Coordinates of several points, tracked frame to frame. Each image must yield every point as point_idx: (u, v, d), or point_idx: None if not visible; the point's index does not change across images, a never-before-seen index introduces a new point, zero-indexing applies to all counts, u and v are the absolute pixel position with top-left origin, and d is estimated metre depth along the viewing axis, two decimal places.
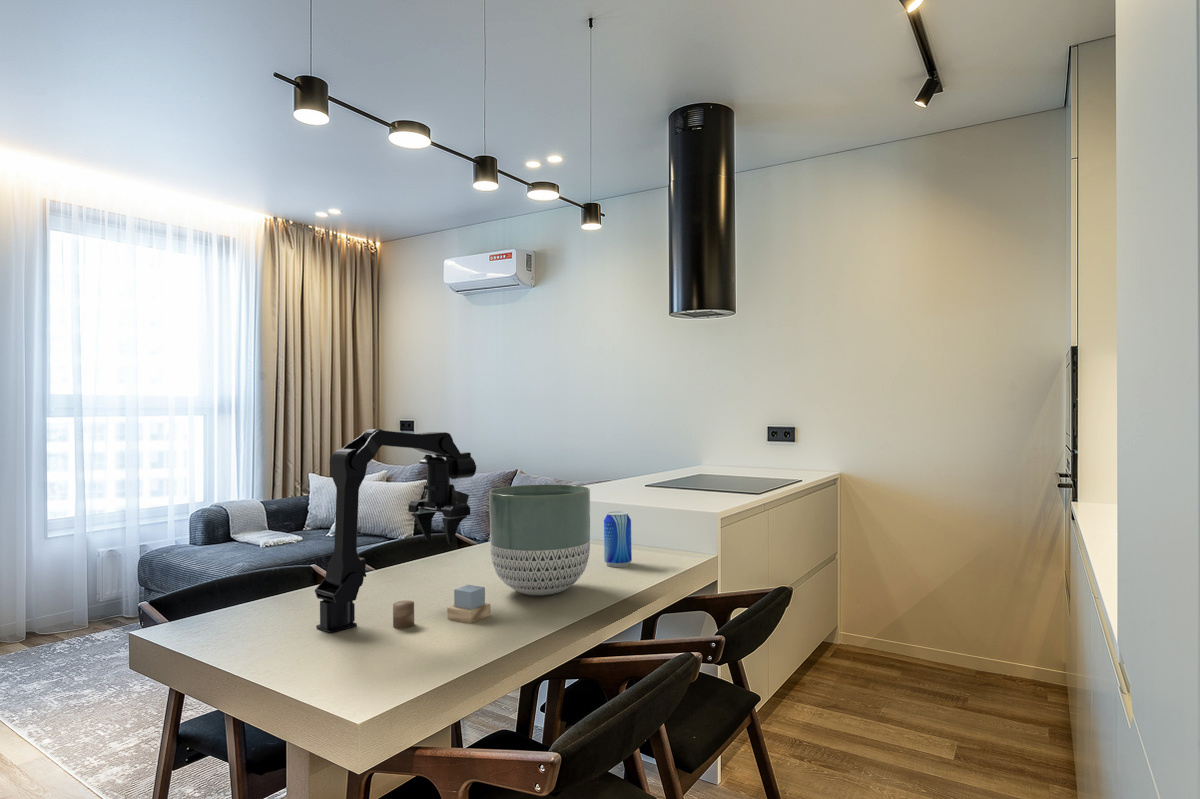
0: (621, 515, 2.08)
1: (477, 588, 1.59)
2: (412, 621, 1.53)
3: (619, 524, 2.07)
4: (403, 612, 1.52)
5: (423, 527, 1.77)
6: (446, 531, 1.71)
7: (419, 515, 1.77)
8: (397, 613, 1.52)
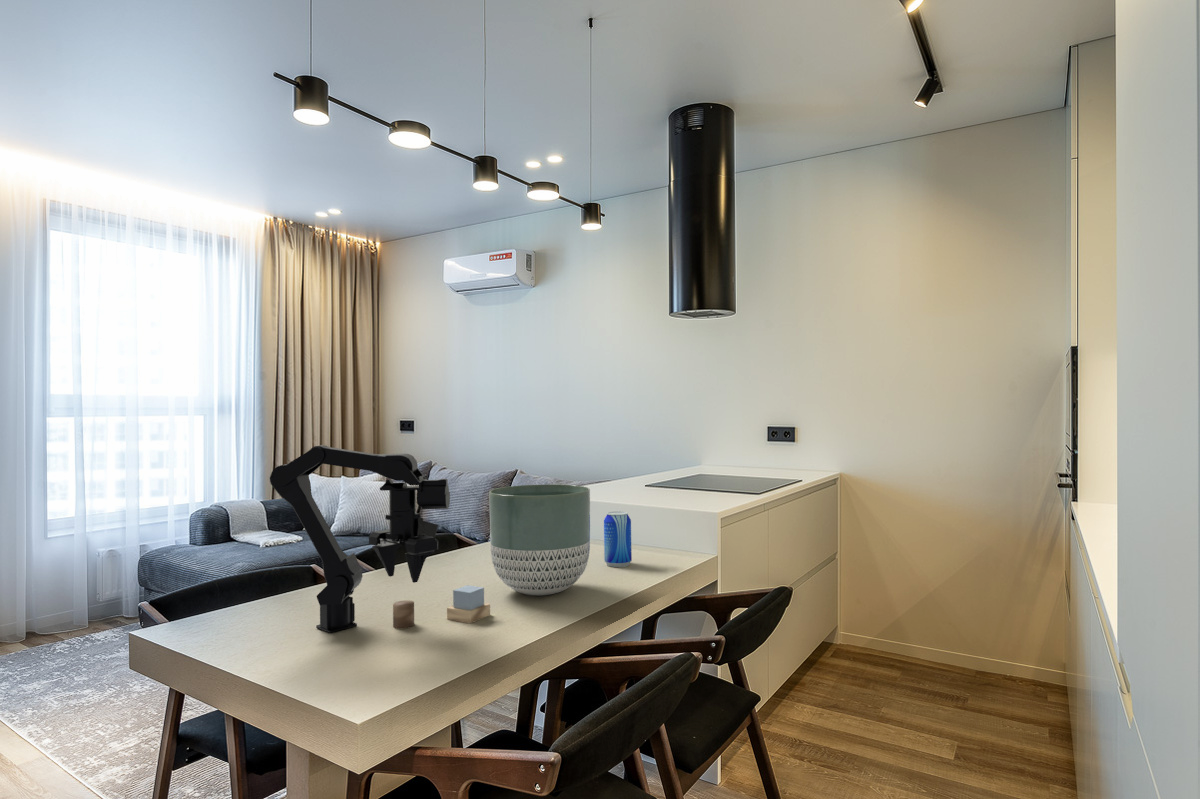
0: (621, 515, 2.08)
1: (476, 588, 1.59)
2: (412, 621, 1.53)
3: (619, 524, 2.07)
4: (403, 612, 1.52)
5: (385, 562, 1.56)
6: (410, 568, 1.49)
7: (381, 548, 1.56)
8: (397, 613, 1.52)
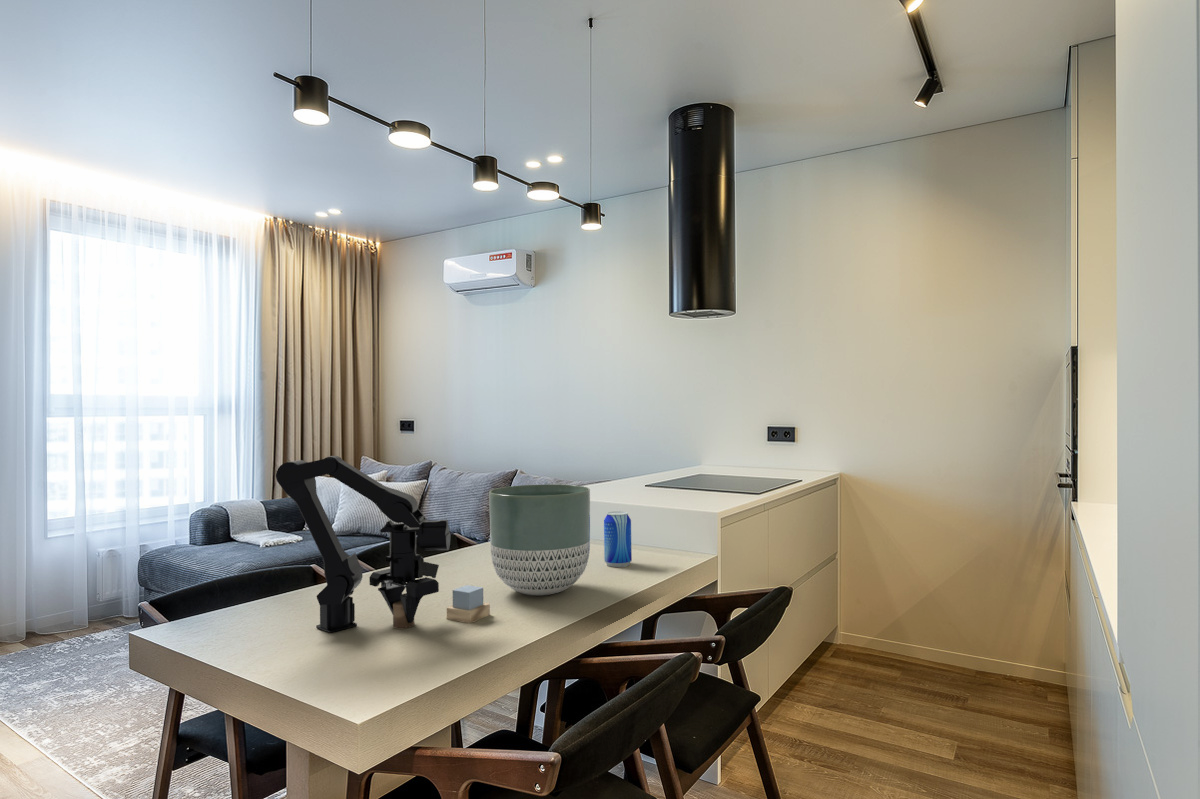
0: (621, 515, 2.08)
1: (475, 588, 1.59)
2: None
3: (619, 524, 2.07)
4: (403, 612, 1.52)
5: (391, 604, 1.54)
6: (405, 609, 1.50)
7: (387, 591, 1.54)
8: (397, 613, 1.52)
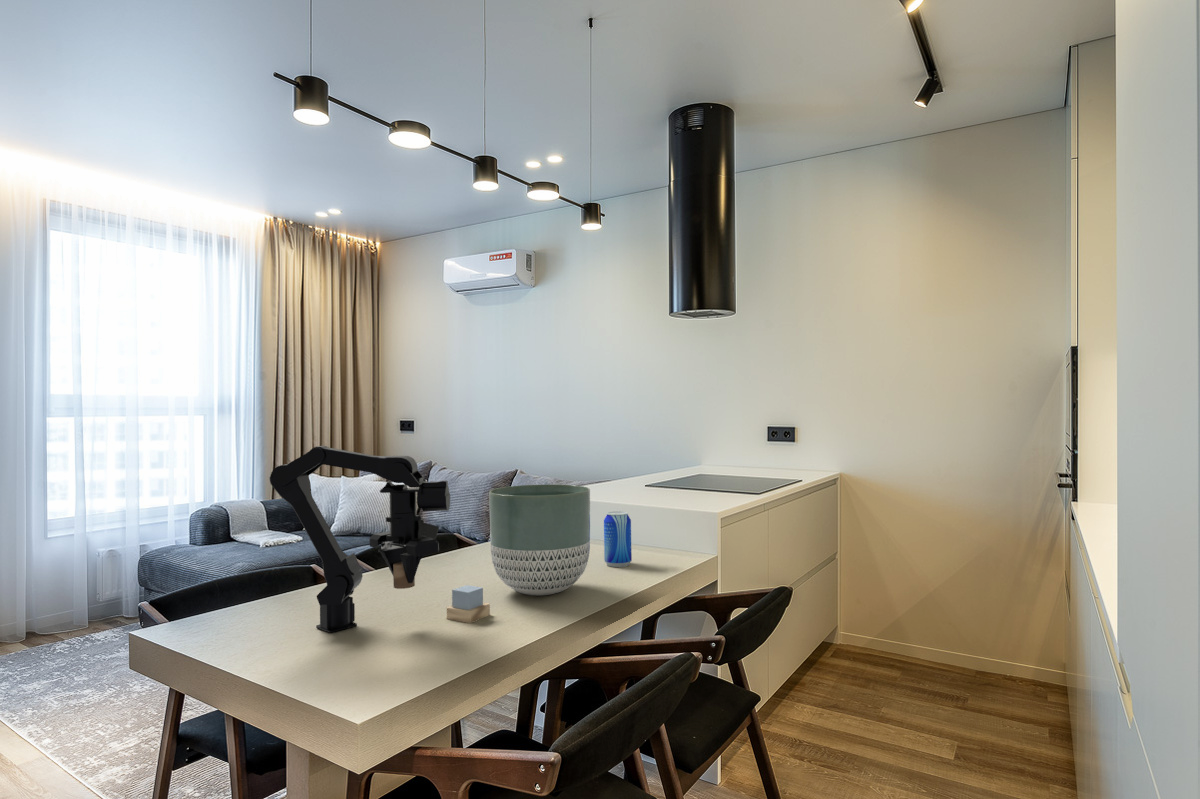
0: (621, 515, 2.08)
1: (475, 588, 1.59)
2: None
3: (619, 524, 2.07)
4: (403, 572, 1.52)
5: (391, 565, 1.55)
6: (405, 569, 1.51)
7: (387, 552, 1.54)
8: (398, 573, 1.52)
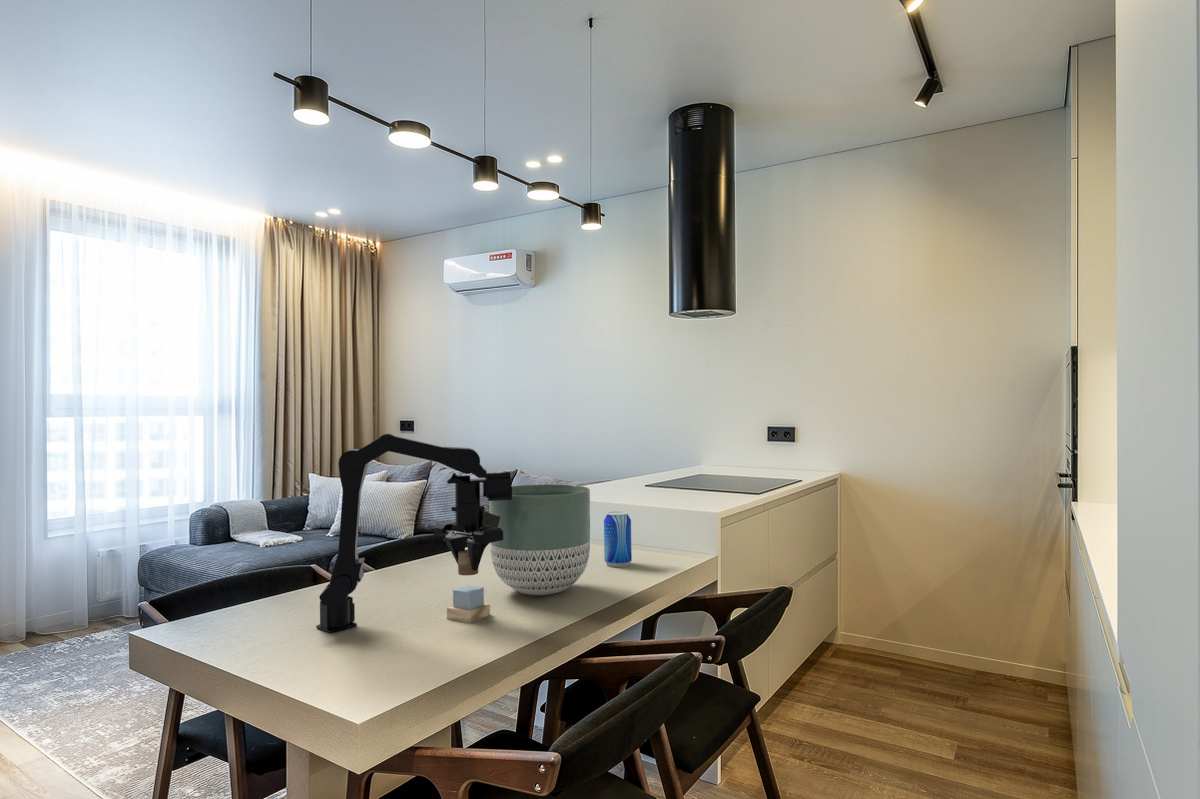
0: (621, 515, 2.08)
1: (476, 588, 1.60)
2: None
3: (619, 524, 2.07)
4: (469, 560, 1.57)
5: (456, 553, 1.60)
6: (471, 557, 1.56)
7: (452, 540, 1.60)
8: (463, 561, 1.57)
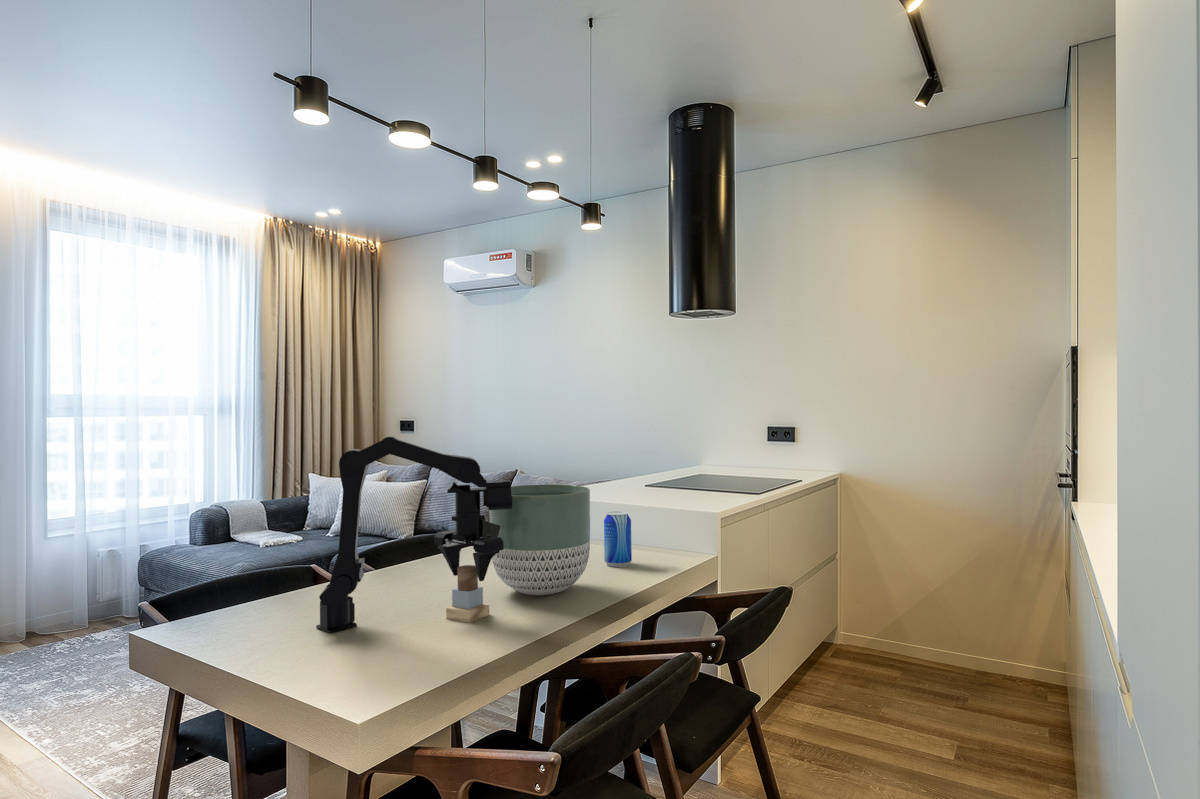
0: (621, 515, 2.08)
1: None
2: (476, 584, 1.59)
3: (619, 525, 2.07)
4: (468, 575, 1.57)
5: (450, 562, 1.61)
6: (477, 567, 1.55)
7: (446, 548, 1.61)
8: (462, 576, 1.57)
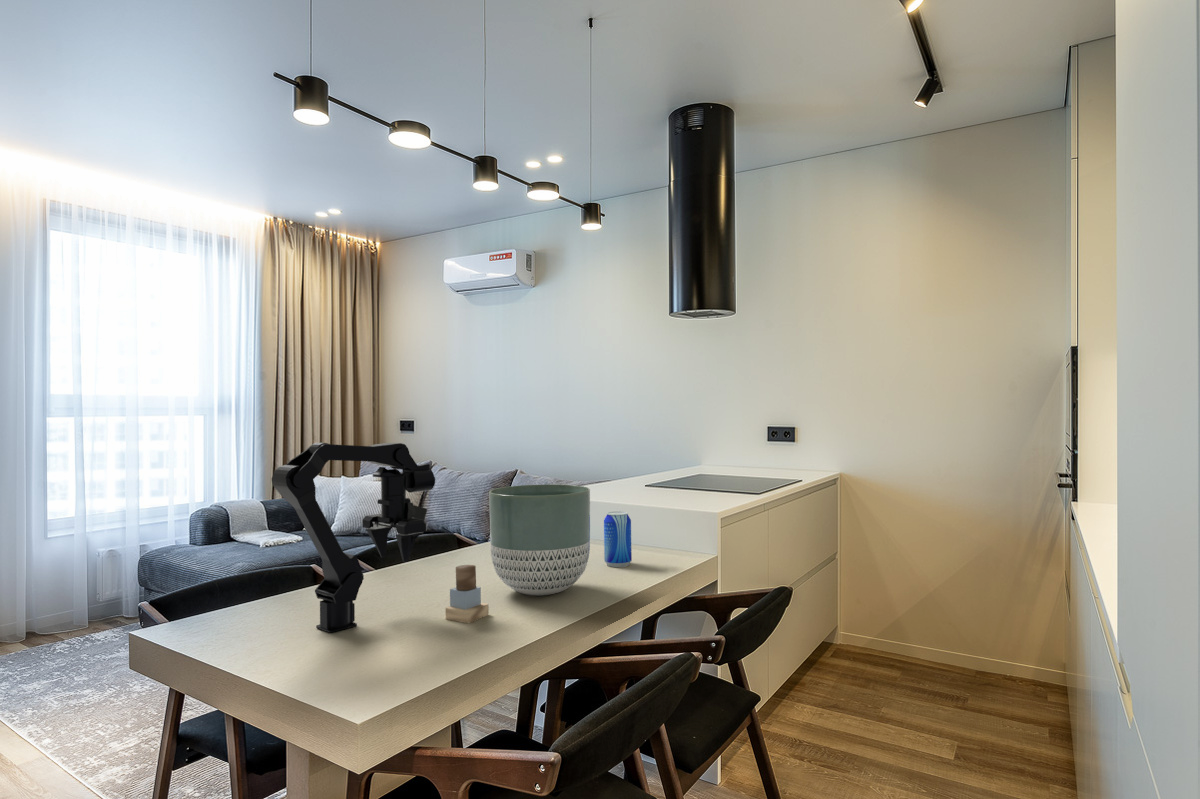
0: (621, 515, 2.08)
1: None
2: (474, 584, 1.59)
3: (619, 524, 2.07)
4: (465, 575, 1.58)
5: (378, 544, 1.67)
6: (400, 549, 1.60)
7: (373, 531, 1.66)
8: (460, 576, 1.58)
